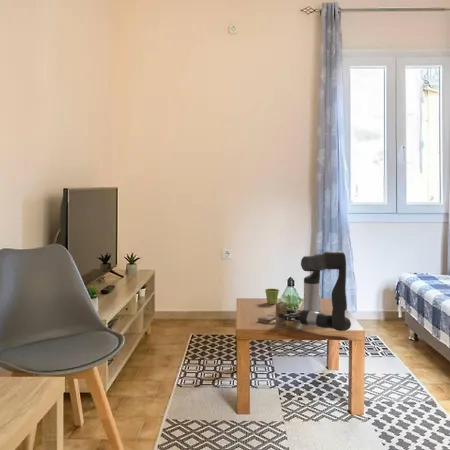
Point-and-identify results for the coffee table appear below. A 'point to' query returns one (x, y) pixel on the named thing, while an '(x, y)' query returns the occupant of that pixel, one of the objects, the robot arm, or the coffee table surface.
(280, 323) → the plank
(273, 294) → the plant pot
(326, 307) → the coffee table surface
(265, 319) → the floor board
